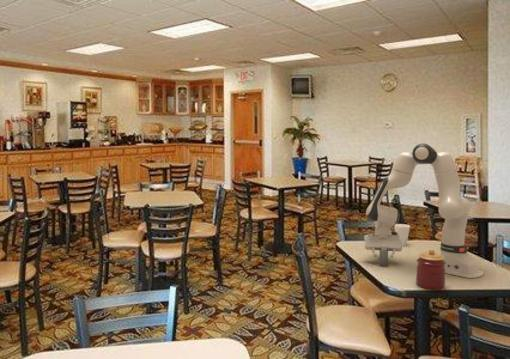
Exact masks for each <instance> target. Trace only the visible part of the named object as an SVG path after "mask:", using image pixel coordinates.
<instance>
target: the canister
mask: <svg viewBox="0 0 510 359" xmlns="http://www.w3.org/2000/svg"><path fill="white" fill-rule="evenodd" d="M443 259H444V257H443V256H441V253H439V252H435V250H434V249H432V248H431V249H429V250H428V251H423V252H421V253H420V254H418V258H417V259H416V262H417V265H416V276H415V277H416V278H415V284H416V285H417V286H418V287H421V288H424V289H427V290H443V289H444V288H445V286H446V280H445V279H446V273H445V271H446V270H445V264H446V262H445V261H444V260H443Z"/></svg>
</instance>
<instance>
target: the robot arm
mask: <svg viewBox="0 0 510 359" xmlns="http://www.w3.org/2000/svg"><path fill="white" fill-rule="evenodd" d="M417 165H430V166H432V169H433V172H434V177H435V180H436V184H437V189H438V201H439V202H438V204H439V205H438V213H439V214H438V215H439V216H440V217H441V218H443V219H444V222H443V226H442V231H441V242H440V247H439V248H440V254H441V256H443V257H444V259H443V260H444V261H445V262H446V264H445V270H446V271H445V274H449V275H452V276H453V275H454V276H458V277H463V278H465V279H466V278H467V279H476V278H480V277H482V276H484V271H482V270H480V267H479V263H478V261H477V260H476V259H475V258H474V257H473V256H472V255H470V253H469V252H468V250H469V249H470V247H469V246H466V245H465V240H466V239H465V238H466V236H465V235H466V229H467V225H468V224H467V223H468V219H469V215H470V214H469V213H470V210H471V204H470V203H471V202H470V201H469V200H468V199H467V198H466V197H463V196H461V180H460V176H459V173H458V169H457V165H456V163H455V160H454V158H453V156H452V154H451V153H450V152H447V151H441V152H439V151H438V152H437V151H436V149H435V148H434V147H433V145H430V144H429V143H418V144H416V146H414V147H413V148H412V152H408V151H404V152H401V153H399V154H398V155H397V158H396V160H395V162H394V164H393V168H392V170H391V172H390V173H389V175H387V176H385V177H383V179H382V180H381V183H380V184H379V186H378V188H377V190H376V192H375V194H374V196H373V198H372V200H371V201H370V203H369V205H367V207H366V211H365V216H366V217H367V219H368V220H369V221H370V222H374V226H375V229H374V234H365V235H364V236H363V239H364V248H365V250H368V251H371V252H372V254H373V258H374V257H375V258H376V257H377V256H378V255H377V254H378V253H377V252H375V251H380V248H381V245H387V249H388V252H392V253H390V258H392V259H394V255H395V253H396V252H398V253H399V252H402V250H403V246H402V242H401V239H400V238H399V233H397V232H395V230H391V228H393V227H395V225H396V224H399V221H400V218H401V217H400V216H401V215H400V211H399V210H398V209H397V208H394V207H390V206H385V205H382V204H381V203H382V201H383V199H384V197H385V195H386V193H387V192H388V191H390V190H393V189H399V188H404V187H407V186H408V185H409V184H410V182H411V180H412V177H413V175H414V172H415V168H416V167H417Z"/></svg>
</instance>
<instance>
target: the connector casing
mask: <svg viewBox="0 0 510 359" xmlns="http://www.w3.org/2000/svg"><path fill="white" fill-rule="evenodd" d="M378 252H379V253H378V254H379V256H378V257H379V258H378V266H379V267H383V268H387V267H388V266H389V264H388V263H389V262H388V261H389V251H388V249H387V245H381V248H380V250H378Z"/></svg>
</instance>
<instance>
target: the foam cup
mask: <svg viewBox="0 0 510 359" xmlns="http://www.w3.org/2000/svg"><path fill="white" fill-rule="evenodd" d="M410 229H411V226H410V225H409V224H404V223H397V224H396V225H394V232H397V233H399V238H400V239H401V242H402V247H406V246H407V244H408V239H409V233H410Z"/></svg>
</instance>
